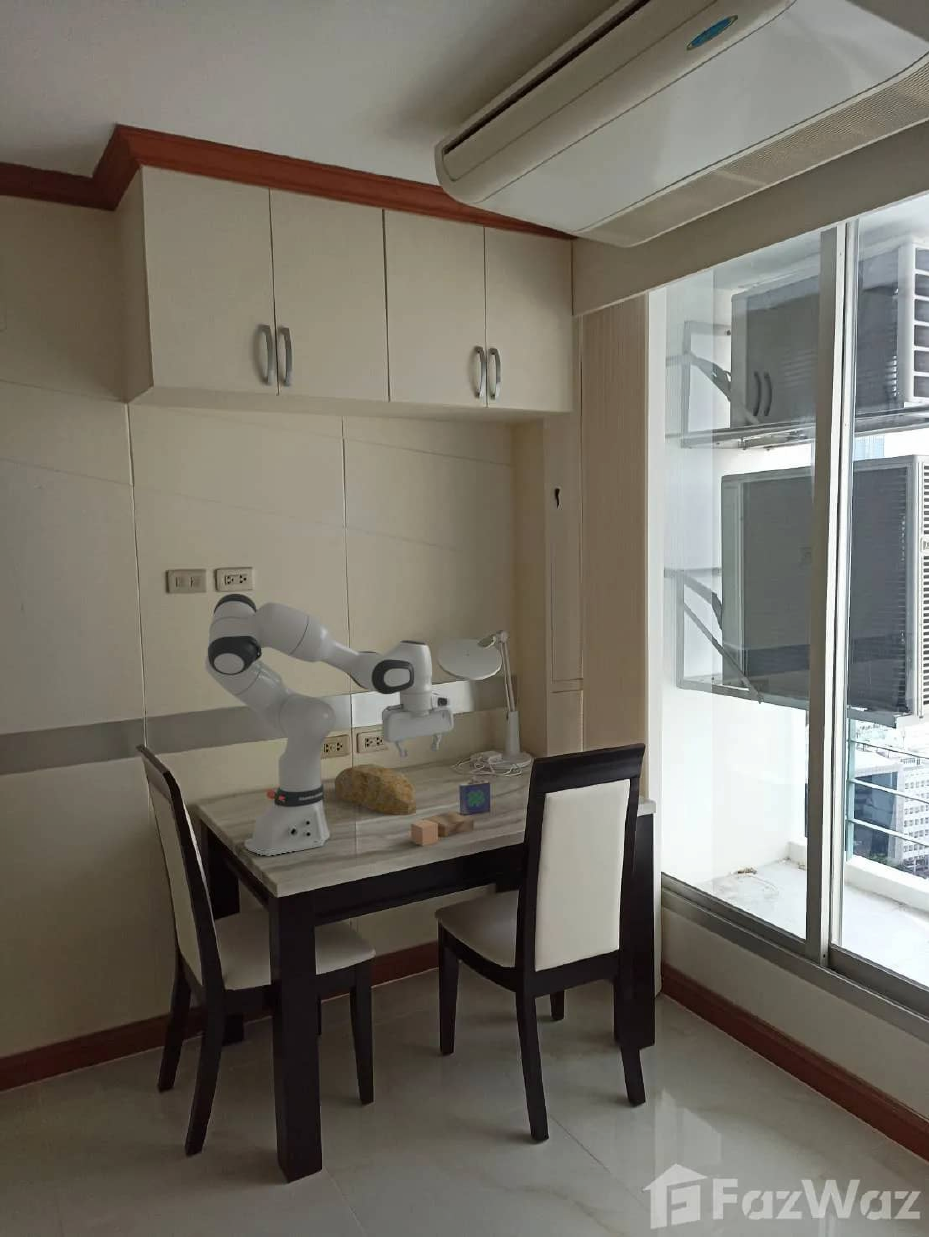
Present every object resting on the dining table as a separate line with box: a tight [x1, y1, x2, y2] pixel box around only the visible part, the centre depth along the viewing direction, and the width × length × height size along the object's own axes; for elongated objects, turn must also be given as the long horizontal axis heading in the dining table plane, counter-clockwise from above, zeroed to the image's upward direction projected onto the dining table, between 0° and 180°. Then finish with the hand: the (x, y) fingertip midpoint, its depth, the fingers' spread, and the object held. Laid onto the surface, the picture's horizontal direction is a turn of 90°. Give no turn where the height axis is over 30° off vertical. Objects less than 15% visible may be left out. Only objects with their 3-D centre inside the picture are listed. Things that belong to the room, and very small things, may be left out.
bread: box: [334, 763, 417, 816], centre depth 279 cm, size 36×11×10 cm, turn 43°
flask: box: [458, 775, 491, 817], centre depth 265 cm, size 9×3×11 cm, turn 109°
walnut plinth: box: [421, 810, 475, 838], centre depth 253 cm, size 10×10×3 cm
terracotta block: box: [410, 818, 439, 847], centre depth 243 cm, size 5×5×5 cm
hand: (419, 753), depth 243 cm, fingers open, 8 cm apart
